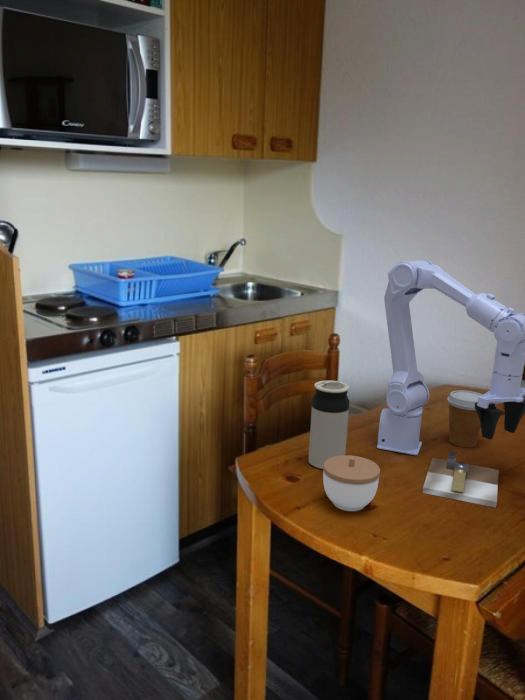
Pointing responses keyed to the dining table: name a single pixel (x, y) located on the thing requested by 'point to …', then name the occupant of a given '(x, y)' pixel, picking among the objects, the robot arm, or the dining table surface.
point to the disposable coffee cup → (463, 418)
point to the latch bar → (459, 476)
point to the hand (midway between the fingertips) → (498, 434)
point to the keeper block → (451, 460)
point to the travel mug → (328, 422)
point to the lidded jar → (350, 481)
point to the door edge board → (476, 487)
